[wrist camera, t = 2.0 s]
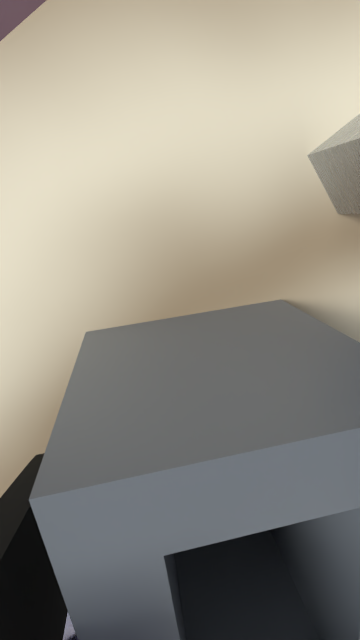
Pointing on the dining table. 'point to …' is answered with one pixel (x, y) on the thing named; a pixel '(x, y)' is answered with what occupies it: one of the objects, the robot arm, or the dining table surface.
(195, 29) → the shaft board
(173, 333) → the grey hollow rectangular block
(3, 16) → the dining table surface
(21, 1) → the dining table surface
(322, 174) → the key shaft
